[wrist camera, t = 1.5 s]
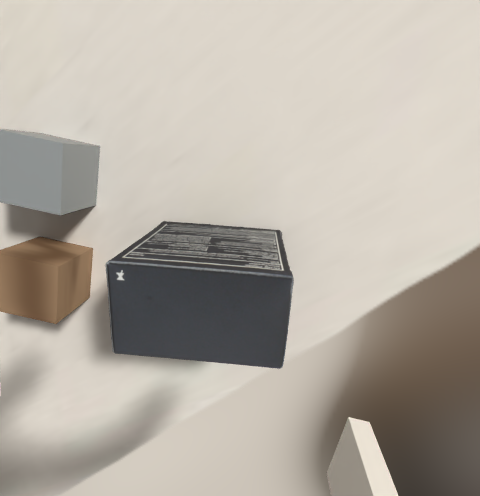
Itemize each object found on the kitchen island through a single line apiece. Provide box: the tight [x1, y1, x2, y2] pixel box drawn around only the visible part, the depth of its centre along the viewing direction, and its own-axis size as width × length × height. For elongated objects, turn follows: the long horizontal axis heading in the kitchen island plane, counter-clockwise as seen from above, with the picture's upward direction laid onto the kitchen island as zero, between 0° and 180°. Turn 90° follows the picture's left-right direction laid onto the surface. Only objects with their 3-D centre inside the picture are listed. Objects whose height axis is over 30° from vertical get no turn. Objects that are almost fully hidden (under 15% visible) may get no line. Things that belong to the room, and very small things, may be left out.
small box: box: [106, 221, 293, 369], centre depth 22 cm, size 11×6×10 cm, turn 87°
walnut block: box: [0, 237, 93, 324], centre depth 26 cm, size 5×5×5 cm
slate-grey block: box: [0, 129, 100, 215], centre depth 24 cm, size 5×5×5 cm
